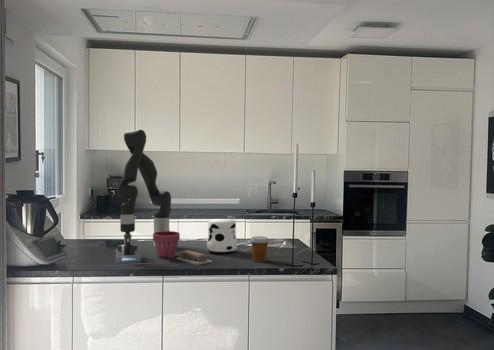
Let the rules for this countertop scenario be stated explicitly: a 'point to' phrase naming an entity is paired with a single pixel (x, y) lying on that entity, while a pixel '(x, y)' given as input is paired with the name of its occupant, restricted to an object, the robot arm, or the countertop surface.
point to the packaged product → (193, 257)
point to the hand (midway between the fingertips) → (127, 254)
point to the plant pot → (166, 243)
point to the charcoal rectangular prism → (123, 249)
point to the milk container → (221, 236)
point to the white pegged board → (128, 257)
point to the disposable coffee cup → (259, 248)
